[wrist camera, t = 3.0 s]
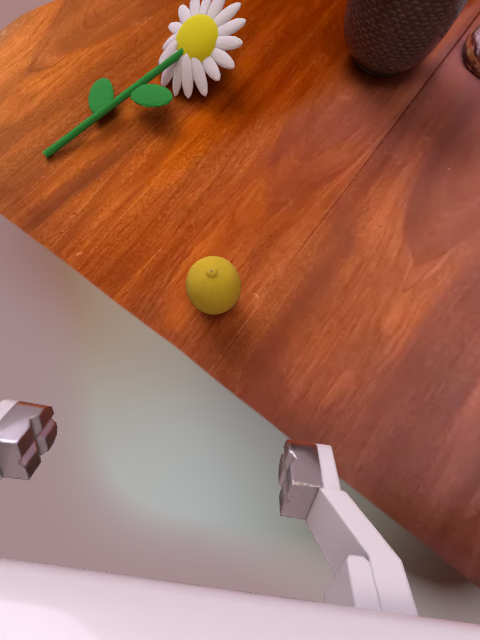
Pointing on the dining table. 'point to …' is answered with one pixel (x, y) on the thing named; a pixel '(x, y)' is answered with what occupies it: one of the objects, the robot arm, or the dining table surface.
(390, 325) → the dining table surface
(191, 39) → the decorative flower
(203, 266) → the lemon
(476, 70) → the pastry
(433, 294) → the dining table surface
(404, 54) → the planter
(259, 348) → the dining table surface
